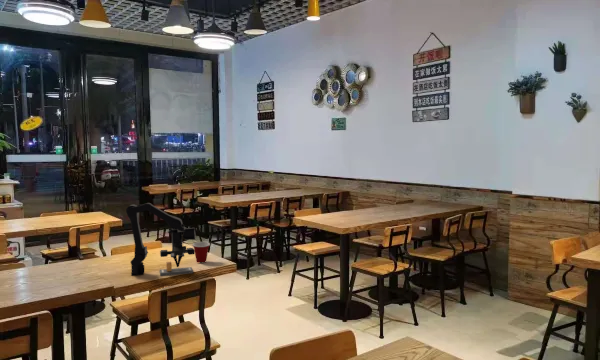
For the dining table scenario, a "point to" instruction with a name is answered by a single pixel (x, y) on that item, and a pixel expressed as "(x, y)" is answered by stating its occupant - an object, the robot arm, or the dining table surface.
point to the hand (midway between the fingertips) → (177, 267)
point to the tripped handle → (168, 266)
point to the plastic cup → (201, 251)
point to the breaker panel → (176, 271)
